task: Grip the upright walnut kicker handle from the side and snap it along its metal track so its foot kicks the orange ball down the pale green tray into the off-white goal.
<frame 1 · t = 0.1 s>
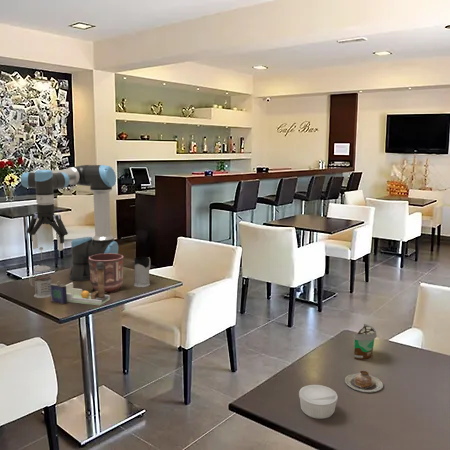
hand: (48, 249, 225), 28 cm above the table, tool pointing down, fingers open, 13 cm apart
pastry: (363, 386, 157), on the table
pale green tray: (85, 300, 239), on the table
flask: (59, 303, 236), on the table
pottery: (107, 289, 257), on the table
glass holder: (144, 283, 268), on the table
food container: (366, 356, 178), on the table
french press: (42, 295, 247), on the table
ball: (85, 294, 239), point 3 cm above the table, touching pale green tray
kicker: (98, 280, 235), point 11 cm above the table, slide at 0.0 cm
ramekin: (317, 411, 142), on the table
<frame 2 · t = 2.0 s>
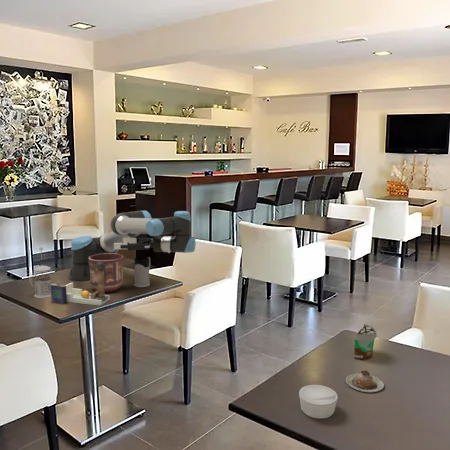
hand: (118, 243, 231), 30 cm above the table, tool horizontal, fingers open, 13 cm apart
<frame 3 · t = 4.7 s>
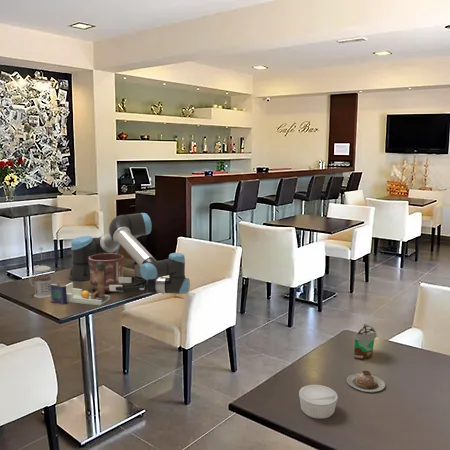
hand: (114, 283, 234), 10 cm above the table, tool horizontal, fingers open, 13 cm apart
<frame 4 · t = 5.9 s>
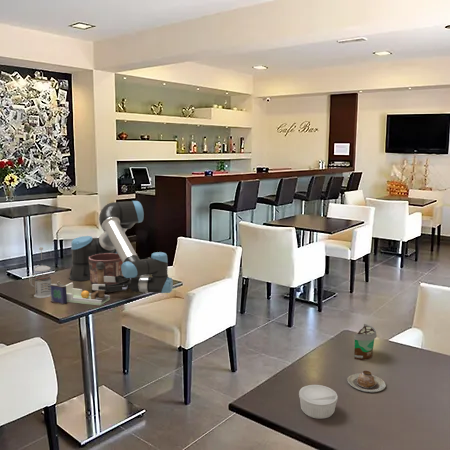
hand: (97, 282, 235), 10 cm above the table, tool horizontal, fingers open, 13 cm apart
nothing on the table moved.
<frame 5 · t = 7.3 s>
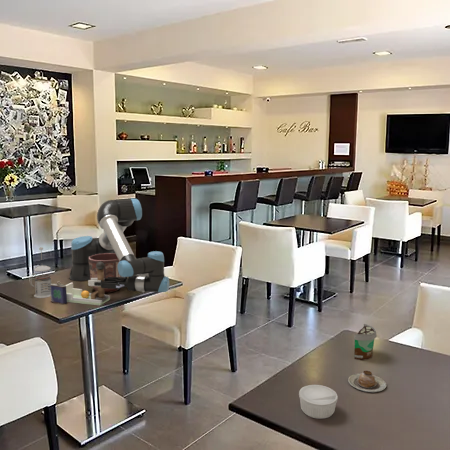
hand: (90, 281, 235), 10 cm above the table, tool horizontal, fingers closed on kicker, 3 cm apart
kicker: (98, 280, 235), point 11 cm above the table, slide at 0.0 cm, touching gripper
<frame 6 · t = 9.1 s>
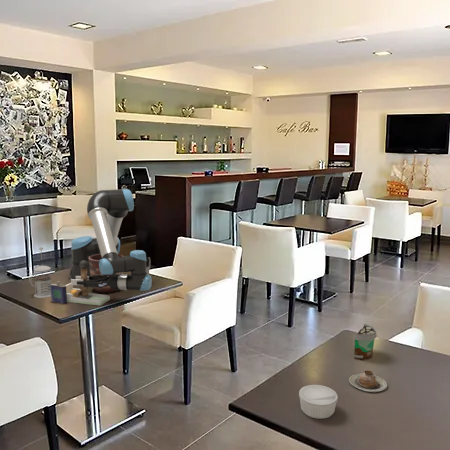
hand: (73, 280, 238), 10 cm above the table, tool horizontal, fingers open, 5 cm apart
ball: (74, 293, 240), point 3 cm above the table, tilted 148°, touching pale green tray
kicker: (82, 279, 237), point 11 cm above the table, slide at 9.1 cm
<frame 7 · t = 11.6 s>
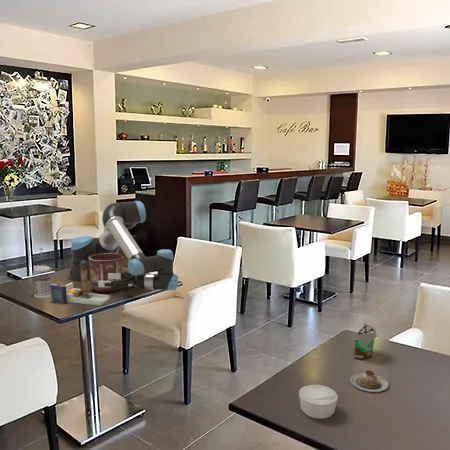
hand: (103, 279, 236), 11 cm above the table, tool horizontal, fingers open, 13 cm apart
ball: (72, 293, 240), point 3 cm above the table, tilted 179°, touching pale green tray
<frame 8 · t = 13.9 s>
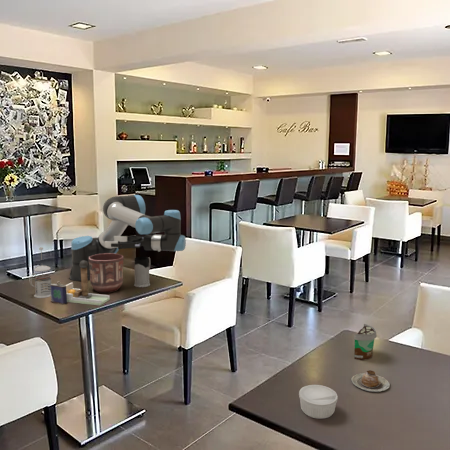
hand: (109, 241, 233), 30 cm above the table, tool horizontal, fingers open, 13 cm apart
at the end: ball 0.4 cm from the target spot, point 3.0 cm above the table; kicker slide at 9.1 cm; the gripper is holding nothing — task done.
